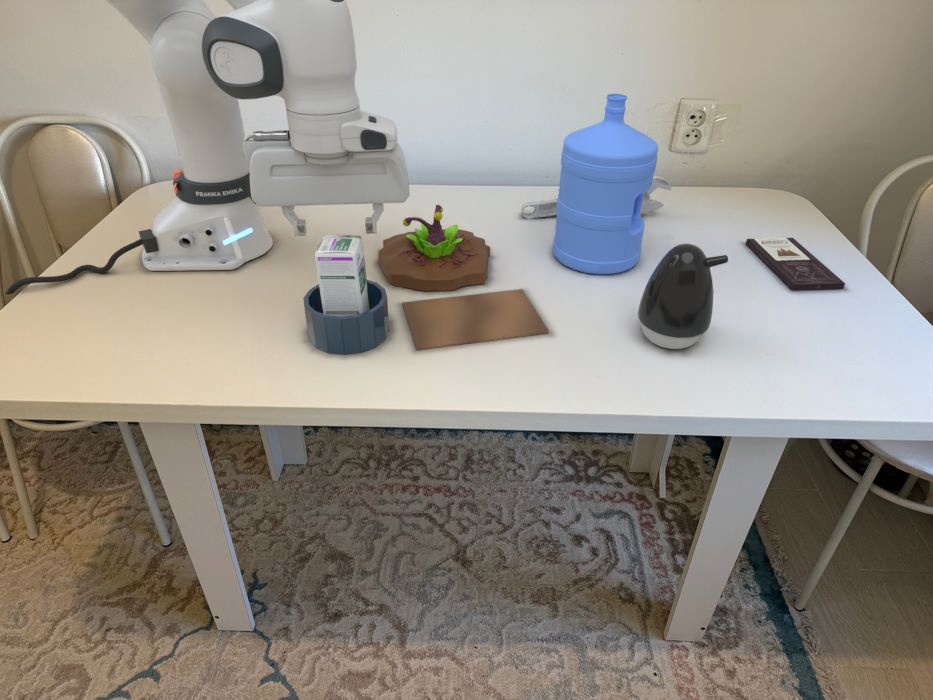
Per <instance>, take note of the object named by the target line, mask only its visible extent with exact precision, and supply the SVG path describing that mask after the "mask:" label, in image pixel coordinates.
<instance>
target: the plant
mask: <svg viewBox="0 0 933 700" xmlns="http://www.w3.org/2000/svg"><path fill="white" fill-rule="evenodd" d="M443 211H444V209H443V206H441V204H436V205H435V208H434V212H433V221H432V224H431V223H429V222H428V221H426V220H424V219H423V218H421V217H417V216H412V217H411V216H410V217H405V218H404V219H403V221H402V225H403V226H405V227H409V226H410V225H411V223H412V222H414V221H415V222H419V223H420V229H419V228H414V231H407V232H404V233H399V234H395V235H393V236H390V237H388V238H385V239H383V240H382V248H380V249H379V250H378V252H377V261H378V264H379V266H380V268H381V269H382V271H383V273H384V274H385V277H386V278H387V280H388V282H389V285H391V286H394V287H403V288H409V289H412V290H415V291H422V292H447V291H450V292H451V291H455V290H457V289H460V288H462V287H468V286H477V285H479V286H480V285H485V283H486V281H487V280H488V267H489V258H490V256H491V246H489V245H487V244H486V239H484V238H482V237H479V236H476V235H474V232H472V231H468V230H464V229H459V225H458V224H453V225H451V226H449V227H447V228H445V229H444V228H443V225H442V224H441V220H442V219H443Z"/></svg>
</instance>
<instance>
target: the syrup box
mask: <svg viewBox="0 0 933 700" xmlns="http://www.w3.org/2000/svg"><path fill="white" fill-rule="evenodd" d="M313 256H314V260H315V261H314V262H315V266H316V267H315V268H316V274H317V281H318V284H319V288H320V295H321V301H322V308H323V314H325V315H330V316H341V317H342V316H350V315H357V314H360V313H363V312H366V311H369V310H370V306H369V296H368V287H367V280H368V279H367V278H368V277H367V269H366V268H367V267H366V260H365V249H364V240H363V237H362V236H361V235H354V234H331V235H323V236H322V239H321V241H320V243H319V244H318V246H317V247H316V250H315V252H314V255H313Z"/></svg>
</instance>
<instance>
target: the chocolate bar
mask: <svg viewBox="0 0 933 700" xmlns="http://www.w3.org/2000/svg"><path fill="white" fill-rule="evenodd" d="M745 245H747V247H749V249H750V250H752V252H753V253H754V254H755V255H756V256H757V257H758V258H760V260H761V261H762V262H764V264H765V265H766V266H767V267H768V268H769V269H771V271H773V273H774V274H775V275H776V276H777V277H778V278H779V279H780V280H781V281H782V282H783V283H784V284H785V285H786V286H787V287H788V288H789V289H790V290H791V291H804V290H805V291H807V290H810V291H811V290H837V289H841V290H842V289H844V288H845V285H846V282H845V281H843V280H842V279H841V278H840V277H838V275H837V274H835V272H833V271H832V270H831V269H830V268H828V267H827V266H826V265H825V264H824V263H822V262H821V260H819V259H818V258H817V257H815V255H813V253H811V252H810V251H808V250H807V248H805V247H804V246H803V245H802V244H801V243H799V242H798V241H797V240H796V239H795V238H794V237H771V238H770V237H765V238H764V237H763V238H747V239H746V241H745Z"/></svg>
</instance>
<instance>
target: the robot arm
mask: <svg viewBox="0 0 933 700" xmlns="http://www.w3.org/2000/svg"><path fill="white" fill-rule="evenodd" d="M105 1H106V2H107V4H109V5H111V6H112V7H113V8H114V9H115V10H116V11H118V13H119V14H120V15H122V17H124V18H125V19H126V20H127V21H128V23H129V24H130V25H131V26H132V27H133V28H134V29H135V31H138V33H139V34H140V35H141V36H142V37H143V38H144V39H145V40H146V41H147V43H148V44H149V45H150V48H149V49H150V60H151V64H152V67H153V71H154V74H155V78H156V82H157V85H158V89H159V91H160V95H161V98H162V101H163V104H164V107H165V110H166V113H167V117H168V119H169V122H170V125H171V128H172V133H173V136H174V141H175V143H176V149H177V153H178V157H179V161H180V165H181V169H179V168H177V169H175V170H174V172H173V174H172V180H173V181H172V185H173V187H172V188H173V191H174V194H175V197H174V199H172V200H171V201H170V202H169V203H168V204H167V205H166V206H164V208H162V209H161V210H160V211H159V212H158V213H157V214H156V216H155V218H154V220H153V222H152V226H151V228H148V229H142V230H138V235H139V239H137V240H135V241H133V242H131V243H129V244H126V245H124V246H122V247H121V248H119V249H118V250H116V251H115V252H113V254H112V255H111V256H110V258H109V259H108V261H107V263H106V264H105V265H104V266H102V267H101V266H100V267H99V266H96V265H93V264H83V265H80V266H78V267H76V268H74V269H73V270H72V271H70V272H68V273H65V274H61V275H54V276H30V277H26V278H21V279H19V280H16V281H15V282H14V283H13V284H11V285H10V286H9V287H8V289H7V290H6V291H5V295H12V294H14V293H15V292H16V291H17V290H18V289H20V288H21V287H23V286H26V285H30V284H45V283H47V284H48V283H61V282H66V281H69V280H71V279H73V278H75V277H77V276H78V275H79V274H81V273H83V272H86V271H91V272H94V273H97V274H105V273H108V272H109V271H111V270H112V268H113V267H114V265H115V263H116V262H117V260H118V259H119V258H120V257H121V256H123V255H124V254H126V253H127V252H131V250H134V249H136V248H138V247H140V246H142V247H143V249H142V253H141V260H142V264H143V267H144V268H145V269H146V270H148V271H151V272H154V271H155V272H158V271H159V272H161V271H166V272H167V271H232V270H236V269H237V268H240V267H241V266H243V265H244V264H246V263H247V262H249V261H252V260H254V259H257V258H259V257H261V256H263V255H264V254H266V253H267V252H268V251H270V250H271V248H272V247H273V245H274V239H273V238H272V235H271V234H270V232H269V230H268V227H267V224H266V222H265V220H264V219H265V218H264V217H263V213H262V211H261V208H265V207H267V208H269V207H281V211H282V215H283V216H284V217H285V218H286V220H287V221H288V222H289V223H290V224H291V225H292V229H293V234H294V237H305V236H307V233H308V229H307V222H306V221H307V220H306V219H303V218H302V219H300V217H298V215H297V214H296V212H295V207H298V206H299V207H301V206H336V205H338V206H339V205H365V204H366V205H369V204H370V205H371V204H372V211H373V213H372V215H371V216H368V217H365V219H364V220H365V221H364V224H365V225H364V226H365V234H366V235H371V234H372V235H373V234H378V226H377V225H378V224H377V223H378V221H379V220H380V218H381V216H382V214H383V213H384V204H402V203H405V202H406V201H407V200H408V198H409V197H410V195H411V194H410V181H409V173H408V168H407V163H406V157H405V154H404V150H403V148H402V146H401V145H400V143H399V142H398V128H397V126H396V124H395V122H394V120H392V119H390V118H387V117H384V116H380V115H377V114H374V113H370V112H367V111H365V110H361V103H360V99H359V96H358V92H357V90H356V89H357V88H356V73H357V69H358V67H357V65H358V64H357V62H358V61H357V53H356V43H355V34H354V28H353V22H352V16H351V13H350V8H349V5H348V2H347V0H225V1H226V2H227V4H228V5H229V6H230V7H231V8H232V9H233V10H231V11H228V12H225V13H222V14H221V15H219V16H216V15H215V14H214V12H213V10H211V8H210V7H209V6H208V5H207V3H206V2H205V1H204V0H105ZM274 96H276V97H280V98H282V100H283V101H284V105H285V106H284V107H285V112H286V120H287V126H288V129H287V130H286V129H283V130H271V131H270V130H269V131H264V130H254V131H251V134H249V135H247V136H246V133H245V127H244V121H243V118H242V114H241V108H240V107H241V106H240V103H239V100H259V99H261V98H262V99H264V98H269V97H274Z"/></svg>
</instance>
